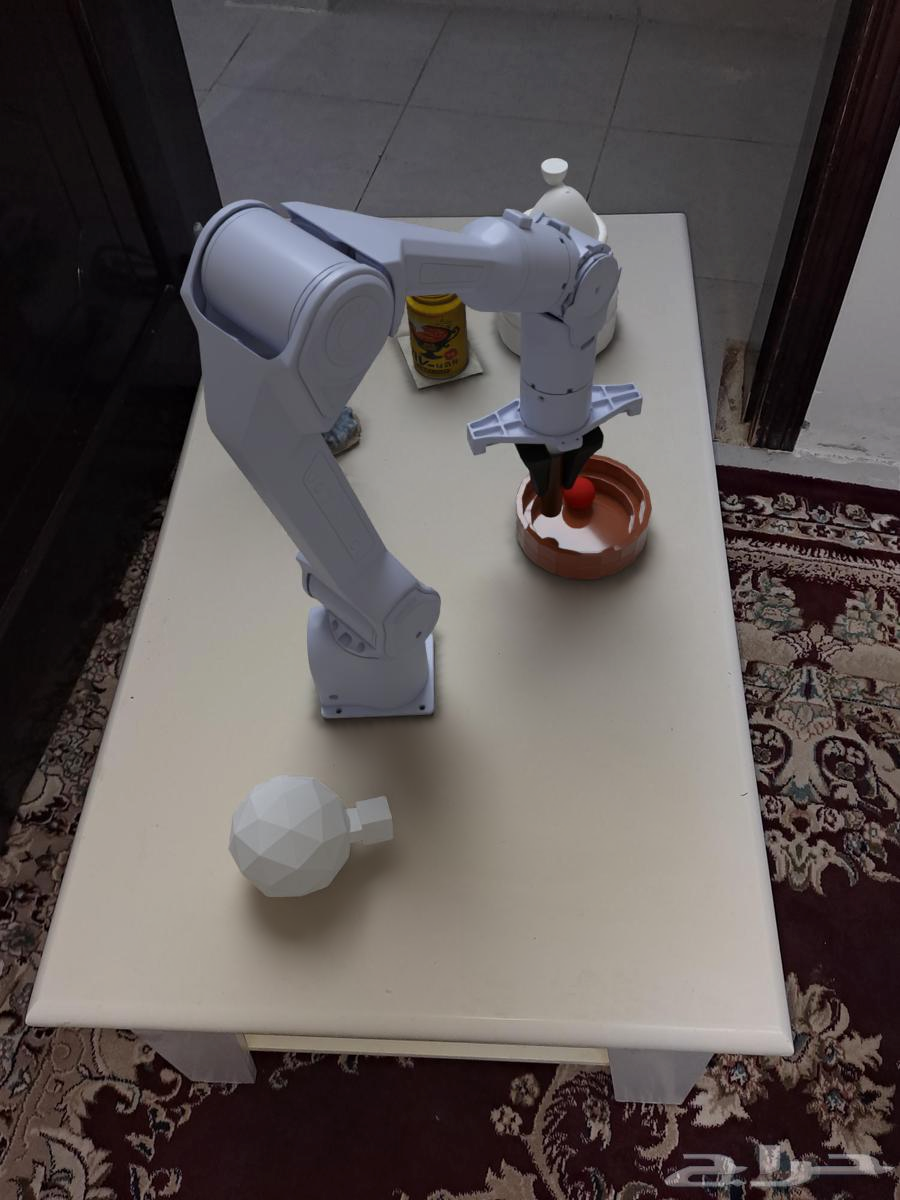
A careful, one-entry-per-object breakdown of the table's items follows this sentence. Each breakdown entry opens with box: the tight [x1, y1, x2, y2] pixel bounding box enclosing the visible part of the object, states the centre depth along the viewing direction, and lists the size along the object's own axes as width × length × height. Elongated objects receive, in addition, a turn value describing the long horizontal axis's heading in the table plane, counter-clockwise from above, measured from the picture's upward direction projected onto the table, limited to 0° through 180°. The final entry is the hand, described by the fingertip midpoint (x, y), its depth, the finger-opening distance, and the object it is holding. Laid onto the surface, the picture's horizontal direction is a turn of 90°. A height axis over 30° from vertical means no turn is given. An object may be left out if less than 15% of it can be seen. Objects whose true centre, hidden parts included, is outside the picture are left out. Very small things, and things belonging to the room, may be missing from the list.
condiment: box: [396, 293, 484, 389], centre depth 103 cm, size 7×8×12 cm
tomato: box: [563, 477, 595, 509], centre depth 93 cm, size 3×3×3 cm
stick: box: [540, 444, 565, 518], centre depth 88 cm, size 2×2×8 cm
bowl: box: [515, 453, 653, 580], centre depth 92 cm, size 12×12×4 cm
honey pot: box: [497, 157, 620, 358], centre depth 103 cm, size 13×13×18 cm
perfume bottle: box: [228, 774, 394, 898], centre depth 74 cm, size 9×9×12 cm
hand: (551, 485), depth 88 cm, fingers closed on stick, 2 cm apart
